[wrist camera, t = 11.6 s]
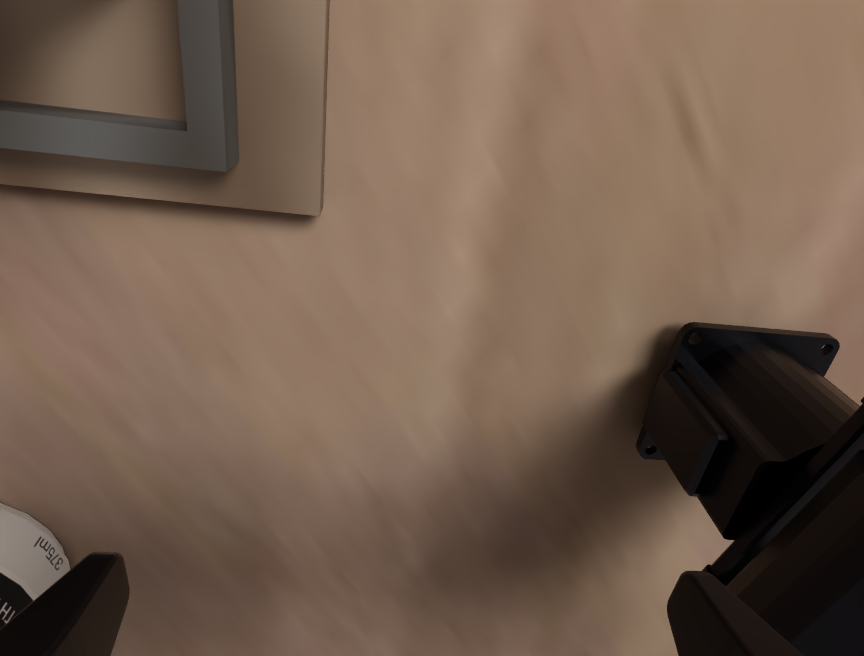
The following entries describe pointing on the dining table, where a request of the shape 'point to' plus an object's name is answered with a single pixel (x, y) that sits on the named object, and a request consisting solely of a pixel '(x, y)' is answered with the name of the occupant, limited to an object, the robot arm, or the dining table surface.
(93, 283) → the dining table surface
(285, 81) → the seat board
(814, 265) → the dining table surface
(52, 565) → the supplement can
